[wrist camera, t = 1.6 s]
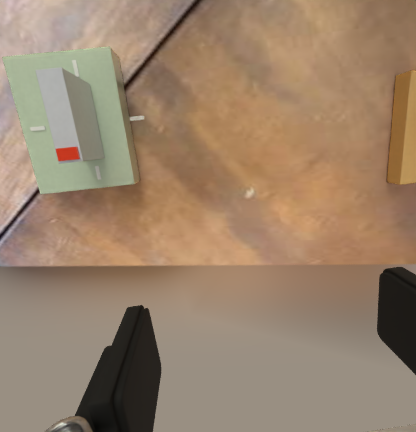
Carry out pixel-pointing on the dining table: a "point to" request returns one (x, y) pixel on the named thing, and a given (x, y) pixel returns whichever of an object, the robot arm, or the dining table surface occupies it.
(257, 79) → the dining table surface
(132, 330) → the robot arm
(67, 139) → the knob
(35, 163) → the dial base
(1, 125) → the dining table surface
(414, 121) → the button box
